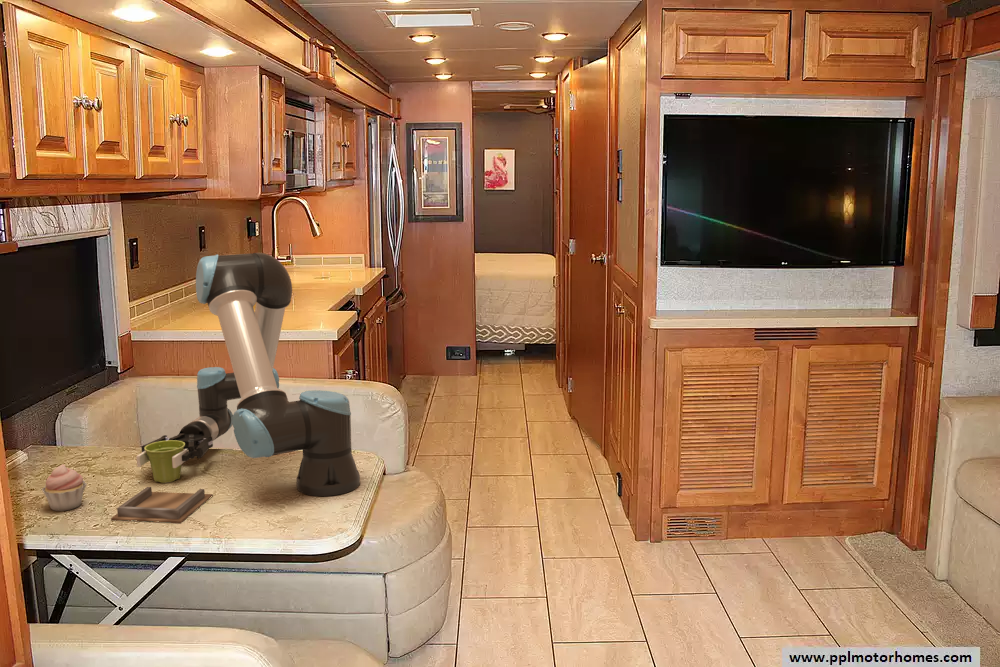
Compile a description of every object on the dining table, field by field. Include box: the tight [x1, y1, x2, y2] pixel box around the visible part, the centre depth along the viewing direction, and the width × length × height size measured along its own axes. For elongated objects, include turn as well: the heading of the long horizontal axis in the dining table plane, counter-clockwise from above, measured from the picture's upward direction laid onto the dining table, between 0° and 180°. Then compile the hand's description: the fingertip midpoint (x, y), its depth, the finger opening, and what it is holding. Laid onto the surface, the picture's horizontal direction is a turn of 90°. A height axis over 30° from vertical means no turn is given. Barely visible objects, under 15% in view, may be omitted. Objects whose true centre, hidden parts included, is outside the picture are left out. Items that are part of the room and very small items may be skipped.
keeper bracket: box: [110, 486, 214, 524], centre depth 195 cm, size 16×16×2 cm
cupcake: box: [41, 464, 88, 512], centre depth 196 cm, size 9×9×10 cm
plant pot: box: [144, 440, 185, 484], centre depth 213 cm, size 9×9×9 cm
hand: (156, 462), depth 208 cm, fingers closed on plant pot, 8 cm apart
